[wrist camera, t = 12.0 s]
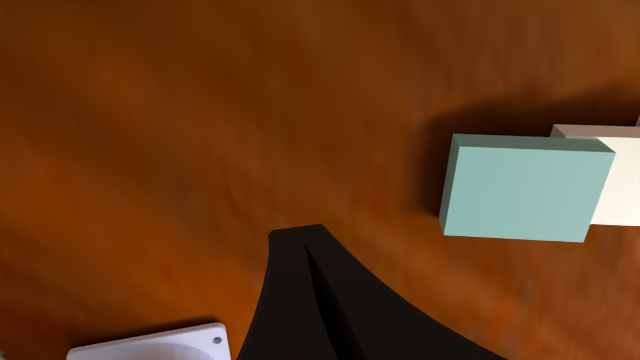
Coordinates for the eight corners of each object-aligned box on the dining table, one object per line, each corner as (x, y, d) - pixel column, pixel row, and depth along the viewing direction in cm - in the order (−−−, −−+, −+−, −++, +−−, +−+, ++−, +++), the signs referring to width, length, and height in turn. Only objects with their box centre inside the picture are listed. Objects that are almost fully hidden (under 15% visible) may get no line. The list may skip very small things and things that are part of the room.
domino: (530, 206, 25) (658, 211, 24) (541, 221, 23) (676, 227, 23) (553, 124, 22) (695, 128, 22) (566, 135, 21) (718, 140, 21)
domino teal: (438, 218, 24) (569, 224, 23) (443, 235, 22) (583, 242, 22) (452, 133, 21) (598, 139, 21) (459, 146, 20) (616, 152, 20)
